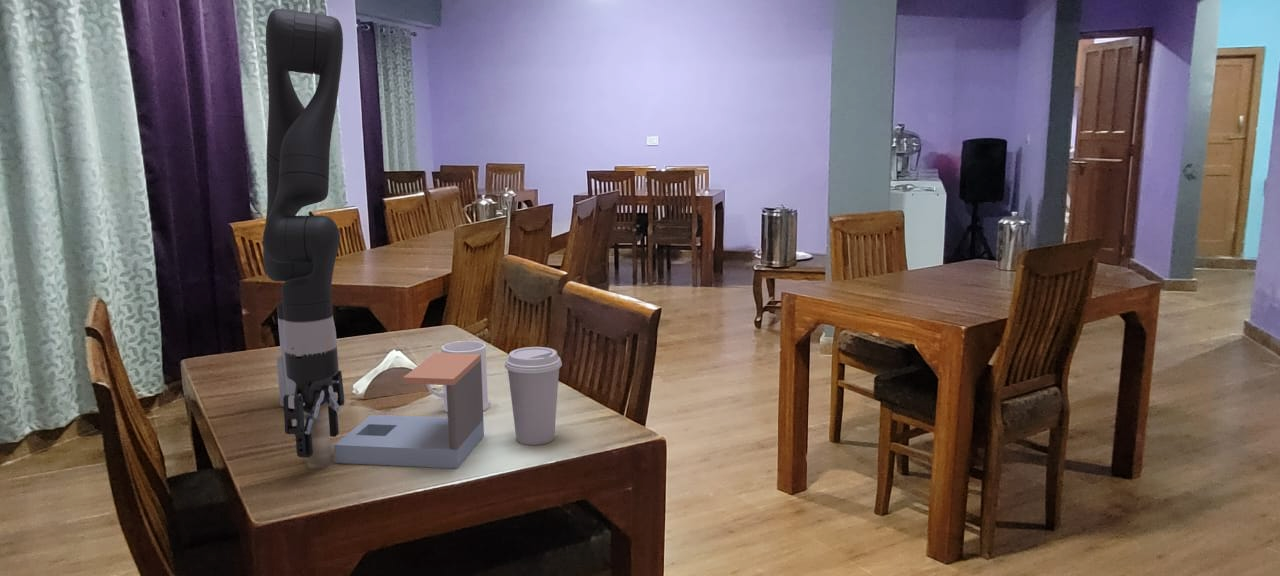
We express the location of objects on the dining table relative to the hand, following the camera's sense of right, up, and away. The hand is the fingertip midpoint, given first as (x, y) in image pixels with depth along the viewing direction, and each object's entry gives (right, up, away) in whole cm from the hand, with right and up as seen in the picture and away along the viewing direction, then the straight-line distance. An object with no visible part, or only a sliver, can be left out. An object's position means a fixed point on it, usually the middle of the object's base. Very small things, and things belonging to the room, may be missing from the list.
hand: (318, 446), depth 132 cm
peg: (0, -3, +1) cm, 3 cm away
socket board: (+13, -2, +7) cm, 15 cm away
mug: (+16, +2, +27) cm, 31 cm away
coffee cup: (+32, -1, +12) cm, 35 cm away
